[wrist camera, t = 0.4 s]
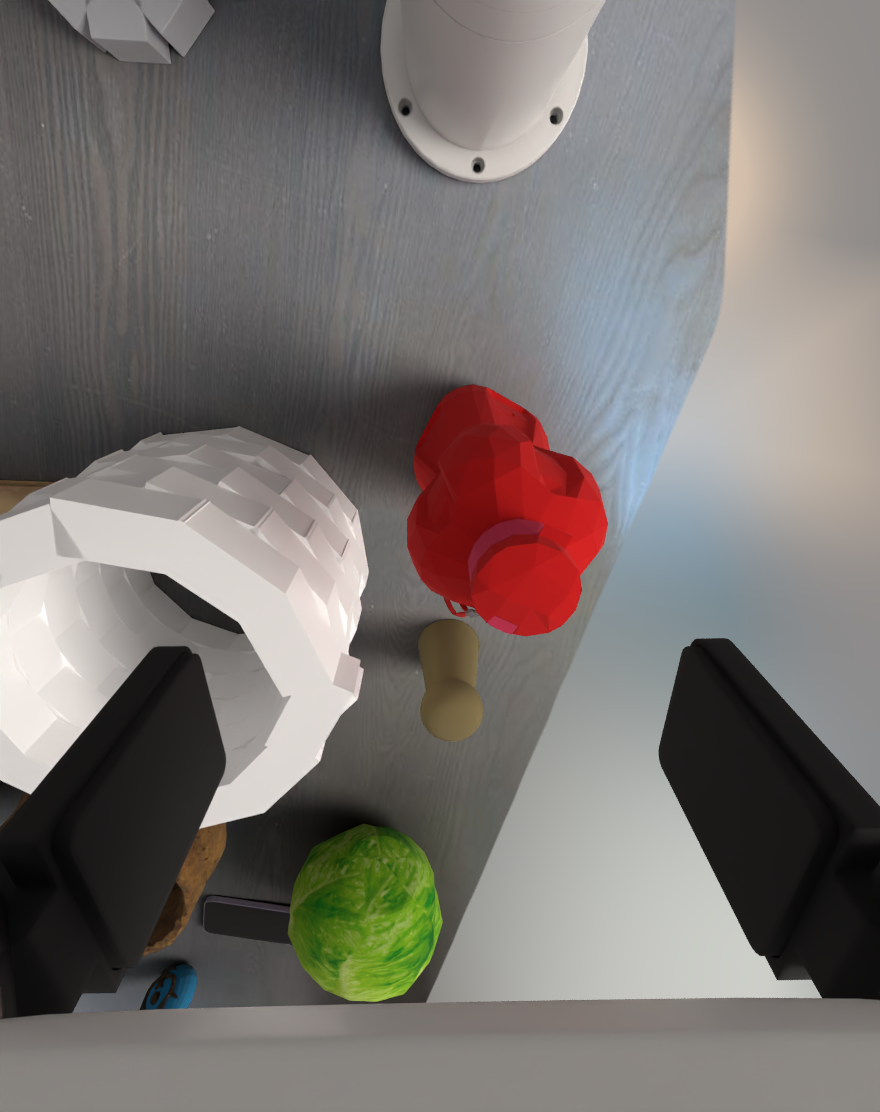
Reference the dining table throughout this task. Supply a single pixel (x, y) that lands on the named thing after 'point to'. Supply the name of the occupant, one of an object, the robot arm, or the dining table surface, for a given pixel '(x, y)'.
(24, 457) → the dining table surface
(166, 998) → the ornament
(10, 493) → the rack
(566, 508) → the water bottle
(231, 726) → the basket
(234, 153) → the dining table surface
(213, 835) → the bowl
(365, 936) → the lettuce
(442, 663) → the pepper shaker
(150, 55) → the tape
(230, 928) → the smartphone
